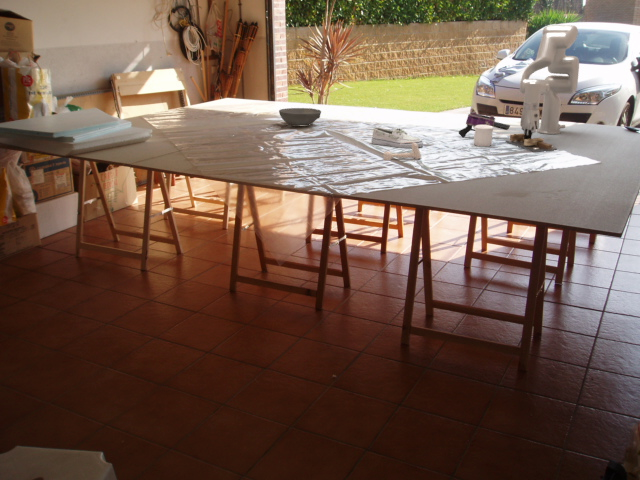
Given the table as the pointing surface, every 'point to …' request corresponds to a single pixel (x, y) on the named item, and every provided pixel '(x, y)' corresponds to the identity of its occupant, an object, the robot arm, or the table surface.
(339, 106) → the table surface
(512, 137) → the rail
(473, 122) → the toy gun
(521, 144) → the strip
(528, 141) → the sliding jaw
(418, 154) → the beige knobbed bar
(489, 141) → the cup
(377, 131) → the boat shoe
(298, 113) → the bowl
